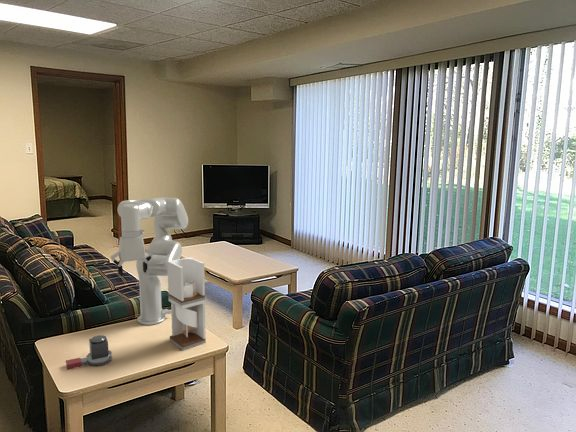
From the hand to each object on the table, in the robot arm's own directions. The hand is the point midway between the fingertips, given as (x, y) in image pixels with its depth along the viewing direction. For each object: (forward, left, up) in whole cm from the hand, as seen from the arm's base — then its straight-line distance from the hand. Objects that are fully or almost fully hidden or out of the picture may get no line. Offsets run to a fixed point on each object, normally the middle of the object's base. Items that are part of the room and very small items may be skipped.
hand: (133, 273), depth 194 cm
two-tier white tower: (-18, +16, -28) cm, 37 cm away
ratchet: (+20, +16, -28) cm, 38 cm away
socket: (+17, +16, -26) cm, 35 cm away
